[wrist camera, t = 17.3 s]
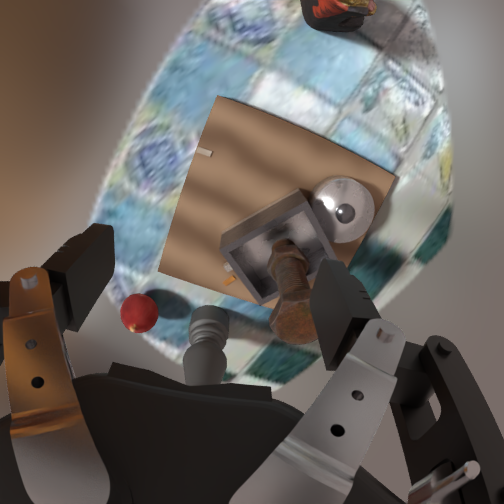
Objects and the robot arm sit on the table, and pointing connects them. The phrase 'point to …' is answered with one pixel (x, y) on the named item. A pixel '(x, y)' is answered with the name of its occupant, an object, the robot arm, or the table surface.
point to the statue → (337, 14)
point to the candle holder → (206, 346)
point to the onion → (139, 313)
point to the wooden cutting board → (252, 189)
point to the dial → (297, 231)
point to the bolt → (291, 294)
